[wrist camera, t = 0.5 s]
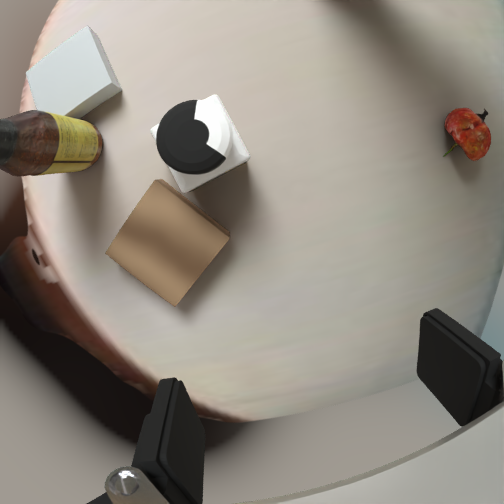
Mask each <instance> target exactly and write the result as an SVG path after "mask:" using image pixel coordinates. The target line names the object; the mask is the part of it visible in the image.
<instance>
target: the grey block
mask: <svg viewBox="0 0 504 504" xmlns="http://www.w3.org/2000/svg"><path fill="white" fill-rule="evenodd" d="M26 75H27V79H28V82H29V86H30V89H31V93H32V96H33V99H34V102H35V105H36V109H37V110H39V111H45V112H49V113H54V114H58V115H63V116H67V117H71V118H76V119H80V118H82V117H83V116H84V115H86V114H87V113H89V112H90V111H91V110H93V109H94V108H96V107H97V106H99V105H100V104H102V103H103V102H105V101H106V100H108V99H109V98H111V97H112V96H114V95H116V94H117V93H119V92H120V91H122V89H121V86H120V84H119V82H118V80H117V78H116V75H115V73H114V71H113V69H112V67H111V64H110V62H109V60H108V57H107V55H106V53H105V51H104V48H103V46H102V44H101V41H100V39H99V37H98V35H97V34H96V33H95V32H94V31H93V30H92V29H91V28H90V27H89V26H86V27H85V28H83V29H82V30H80V31H79V32H77V33H76V34H74V35H73V36H71V37H70V38H69V39H67V40H66V41H65V42H63V43H62V44H60V45H59V46H58V47H56V48H55V49H54V50H53V51H51V52H50V53H49V54H47V55H46V56H45V57H44V58H43V59H41V60H40V61H39V62H38V63H36V64H35V65H34V66H33V67H32V68H31V69H29V70H28V71H27V72H26Z"/></svg>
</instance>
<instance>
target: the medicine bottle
mask: <svg viewBox="0 0 504 504" xmlns="http://www.w3.org/2000/svg"><path fill="white" fill-rule="evenodd" d="M150 131H151V134H152V136H153V138H154V140H155V142H156V144H157V149H158V152H159V154H160V156H161V158H162V159H163V161H164V162H165V163H166V164H167V165H168V167H169V169H170V171H171V173H172V175H173V177H174V179H175V181H176V182H177V184H178V186H179V188H180V190H181V192H182V193H187V192H190V191H192V190H195V189H197V188H198V187H200V186H202V185H204V184H206V183H208V182H210V181H211V180H213V179H215V178H217V177H219V176H221V175H223V174H225V173H227V172H229V171H231V170H233V169H235V168H237V167H238V166H240V165H242V164H244V163H246V162H247V161H248V160H249V159H250V154H249V152H248V150H247V148H246V146H245V144H244V143H243V141H242V139H241V137H240V135H239V133H238V131H237V129H236V127H235V126H234V124H233V122H232V120H231V118H230V116H229V114H228V113H227V111H226V109H225V107H224V105H223V103H222V102H221V100H220V98H219V96H218V95H212V96H210V97H208V98H206V99H204V100H190V101H186V102H182V103H180V104H178V105H176V106H174V107H173V108H172V109H170V110H169V111H168V112H167V113H166V114H165V115H164V117H163V118H162V120H161V122H160V123H159V124H158V125H156V126H154V127H153V128H151V130H150Z"/></svg>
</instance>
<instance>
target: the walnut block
mask: <svg viewBox="0 0 504 504" xmlns="http://www.w3.org/2000/svg"><path fill="white" fill-rule="evenodd" d="M229 239H230V232H229V231H228V230H226V229H225V228H224V227H223V226H221V225H220V224H219V223H217V222H216V221H215V220H214V219H212V218H211V217H210V216H209V215H207V214H206V213H205V212H203V211H202V210H201V209H200V208H198V207H197V206H196V205H195V204H193V203H192V202H191V201H189V200H188V199H187V198H186V197H184V196H183V195H182V194H181V193H179V192H178V191H177V190H175V189H174V188H173V187H172V186H170V185H169V184H168V183H167V182H165V181H164V180H163V179H159V180H155V181H154V182H153V183H152V185H151V186H150V187H149V189H148V190H147V191H146V193H145V194H144V196H143V197H142V198H141V200H140V201H139V203H138V204H137V206H136V207H135V208H134V210H133V211H132V213H131V214H130V216H129V217H128V219H127V220H126V222H125V223H124V225H123V226H122V228H121V229H120V231H119V232H118V234H117V235H116V237H115V239H114V240H113V242H112V243H111V245H110V246H109V248H108V250H107V251H106V253H105V254H107V255H108V256H109V257H110V258H112V259H113V260H114V261H115V262H117V263H118V264H119V265H120V266H122V267H123V268H124V269H125V270H127V271H128V272H129V273H130V274H132V275H133V276H134V277H136V278H137V279H138V280H139V281H141V282H142V283H143V284H145V285H146V286H147V287H149V288H150V289H151V290H153V291H154V292H155V293H157V294H158V295H159V296H161V297H162V298H163V299H165V300H166V301H167V302H169V303H170V304H172V305H173V306H174V307H175V306H176V305H177V304H178V303H179V301H180V300H181V299H182V298H183V296H184V295H185V294H186V292H187V291H188V290H189V289H190V287H191V286H192V285H193V284H194V282H195V281H196V280H197V279H198V277H199V276H200V275H201V274H202V272H203V271H204V270H205V269H206V267H207V266H208V265H209V264H210V262H211V261H212V260H213V259H214V257H215V256H216V255H217V254H218V252H219V251H220V250H221V249H222V248H223V246H224V245H225V244H226V243H227V241H228V240H229Z"/></svg>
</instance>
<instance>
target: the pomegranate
mask: <svg viewBox="0 0 504 504" xmlns="http://www.w3.org/2000/svg"><path fill="white" fill-rule="evenodd" d="M484 110H485V108H484ZM486 115H488V112H487V111H486V110H485V111H484V113H483V114H475V113H474V112H473V111H472V110H470V109H469V108H458V109H455V110H453V111H452V112H451V113H449V114H448V116H447V117H446V120H445V126H444V127H445V129H446V130H447V131H448V133H449V134H450V135H451V136H453V138H454V141H455V142H456V143H455V144H454V145H453V146H452V147H451V148H450V150H449V151H448V152H447V153H446V154H448V153H449V152H450V151H452V150H453V148H454V147H455V146H457V145H459V146H460V147H461V148H462V149H463V150H464V152H465V154H466V155H467V157H468V158H469V159H471V160H473V161H476V160H478V159H480V158H482V157H484V156H485V155H486V153H487V152H488V150H489V147H490V144H491V134H490V130H489V128H488V127H487V125H486V124H485V122H484V119H485V117H486ZM446 154H445V155H446ZM445 155H444V156H445ZM444 156H443V157H444Z"/></svg>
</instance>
